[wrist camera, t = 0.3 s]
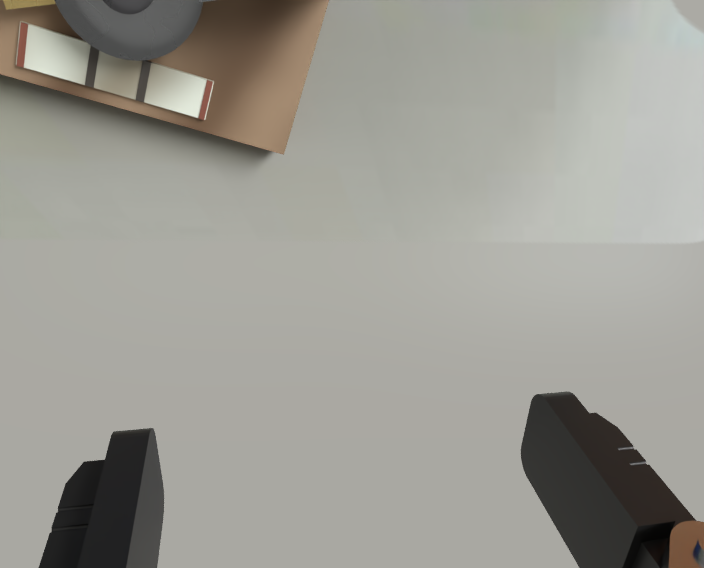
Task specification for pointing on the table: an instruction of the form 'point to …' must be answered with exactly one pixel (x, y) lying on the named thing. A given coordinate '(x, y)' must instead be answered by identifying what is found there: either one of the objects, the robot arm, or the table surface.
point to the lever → (127, 24)
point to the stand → (183, 67)
